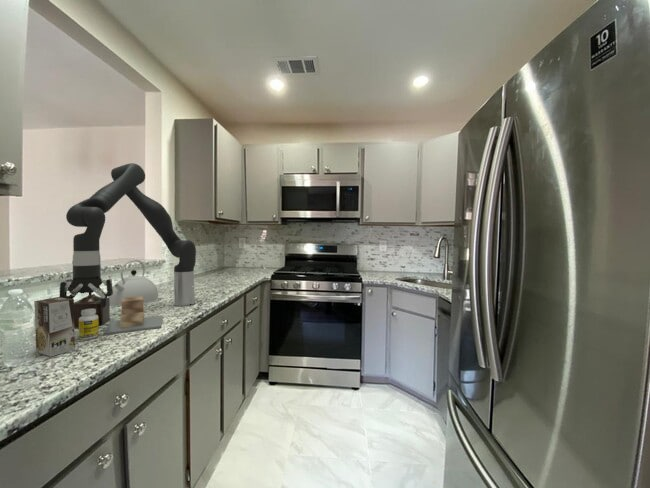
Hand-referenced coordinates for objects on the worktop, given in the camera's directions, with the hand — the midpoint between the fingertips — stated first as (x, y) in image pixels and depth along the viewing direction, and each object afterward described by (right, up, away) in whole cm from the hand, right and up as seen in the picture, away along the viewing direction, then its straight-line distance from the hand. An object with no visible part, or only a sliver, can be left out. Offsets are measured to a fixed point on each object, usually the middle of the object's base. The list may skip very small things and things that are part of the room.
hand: (87, 309), depth 100 cm
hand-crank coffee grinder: (-14, -10, +15) cm, 23 cm away
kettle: (-20, -8, +53) cm, 57 cm away
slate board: (+8, -9, +14) cm, 18 cm away
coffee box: (0, -11, -11) cm, 15 cm away
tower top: (+7, -4, +13) cm, 15 cm away
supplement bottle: (0, -10, 0) cm, 10 cm away
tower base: (+7, -9, +13) cm, 17 cm away
